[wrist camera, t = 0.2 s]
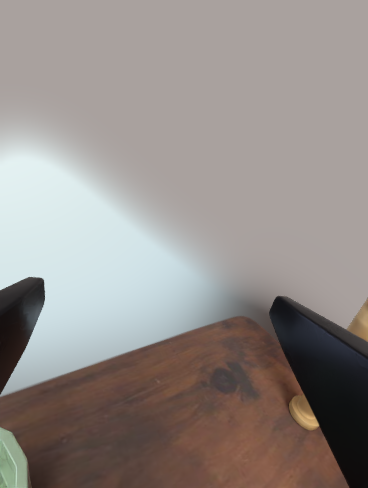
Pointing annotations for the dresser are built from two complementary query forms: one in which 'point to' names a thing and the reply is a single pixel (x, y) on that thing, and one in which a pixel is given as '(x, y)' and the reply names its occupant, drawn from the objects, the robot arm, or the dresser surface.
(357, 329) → the stirring stick
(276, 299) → the robot arm
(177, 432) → the dresser surface
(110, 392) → the dresser surface
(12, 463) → the bowl
